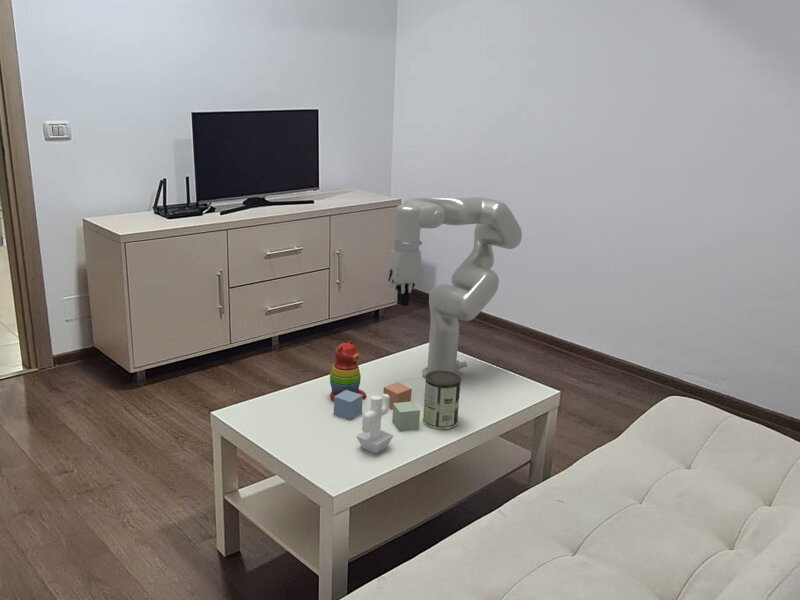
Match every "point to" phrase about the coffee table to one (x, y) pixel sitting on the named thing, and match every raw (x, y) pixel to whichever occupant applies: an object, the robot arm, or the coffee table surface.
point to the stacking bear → (345, 371)
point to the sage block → (406, 416)
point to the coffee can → (441, 399)
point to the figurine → (375, 425)
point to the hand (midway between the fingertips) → (403, 304)
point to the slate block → (348, 405)
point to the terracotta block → (398, 393)
